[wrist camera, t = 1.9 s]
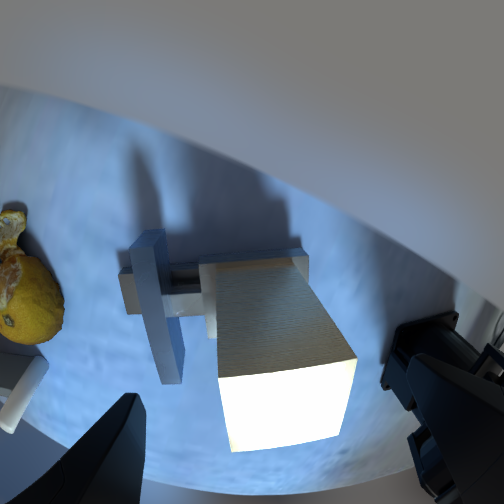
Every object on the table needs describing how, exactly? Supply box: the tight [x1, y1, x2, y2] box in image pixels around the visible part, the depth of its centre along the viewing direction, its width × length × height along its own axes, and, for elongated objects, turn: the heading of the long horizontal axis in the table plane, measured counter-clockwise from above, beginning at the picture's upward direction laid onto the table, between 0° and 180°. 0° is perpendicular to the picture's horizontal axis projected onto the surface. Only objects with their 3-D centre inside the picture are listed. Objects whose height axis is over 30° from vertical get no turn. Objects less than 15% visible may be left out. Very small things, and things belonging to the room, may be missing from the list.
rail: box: [118, 262, 309, 315], centre depth 15 cm, size 10×2×1 cm, turn 93°
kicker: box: [129, 228, 358, 452], centre depth 11 cm, size 8×7×8 cm
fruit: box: [0, 209, 65, 345], centre depth 13 cm, size 8×8×4 cm
